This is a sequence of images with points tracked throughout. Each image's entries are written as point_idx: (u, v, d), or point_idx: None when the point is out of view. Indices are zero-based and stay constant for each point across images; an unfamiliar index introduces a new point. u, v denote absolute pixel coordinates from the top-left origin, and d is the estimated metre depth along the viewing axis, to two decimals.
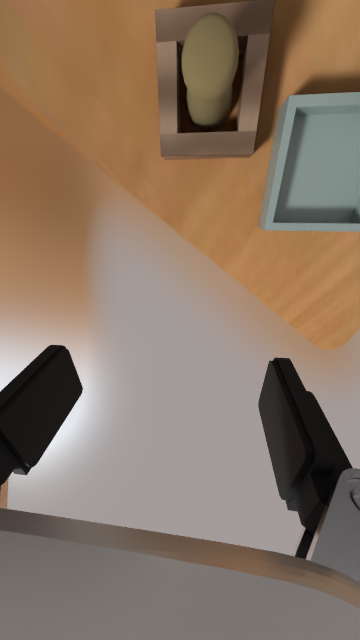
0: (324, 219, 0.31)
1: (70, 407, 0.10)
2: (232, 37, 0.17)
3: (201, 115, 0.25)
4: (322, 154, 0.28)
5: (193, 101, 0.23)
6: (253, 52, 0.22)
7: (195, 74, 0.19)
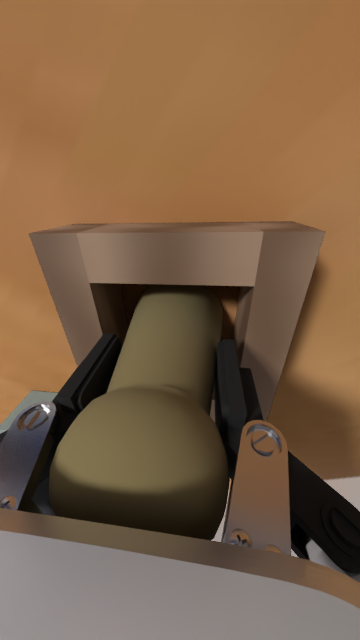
0: None
1: None
2: None
3: None
4: None
5: (126, 349, 0.09)
6: (213, 407, 0.13)
7: (66, 507, 0.05)
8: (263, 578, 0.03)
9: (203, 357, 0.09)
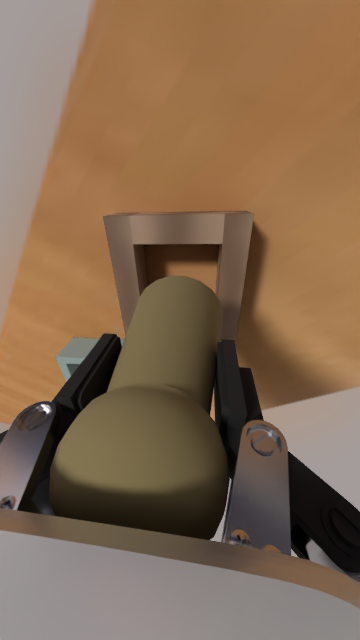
0: None
1: None
2: None
3: None
4: None
5: (126, 348, 0.09)
6: None
7: (67, 506, 0.05)
8: (263, 578, 0.03)
9: (203, 357, 0.09)
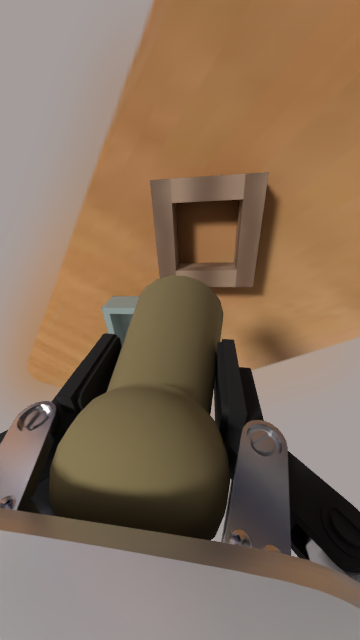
0: None
1: None
2: None
3: None
4: None
5: (126, 348, 0.09)
6: (225, 276, 0.26)
7: (67, 506, 0.05)
8: (263, 578, 0.03)
9: (204, 356, 0.09)
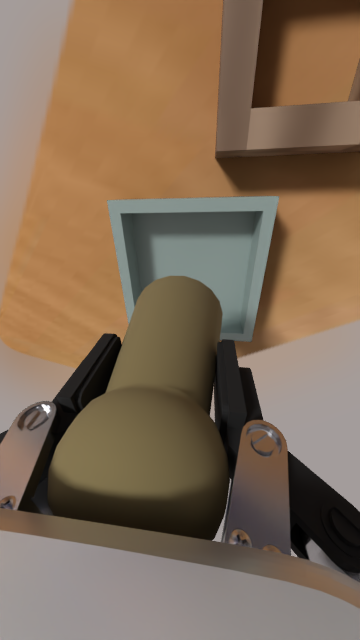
0: (142, 288, 0.25)
1: None
2: None
3: None
4: (210, 266, 0.23)
5: (125, 348, 0.09)
6: (347, 117, 0.14)
7: (65, 508, 0.05)
8: (263, 578, 0.03)
9: (203, 357, 0.09)
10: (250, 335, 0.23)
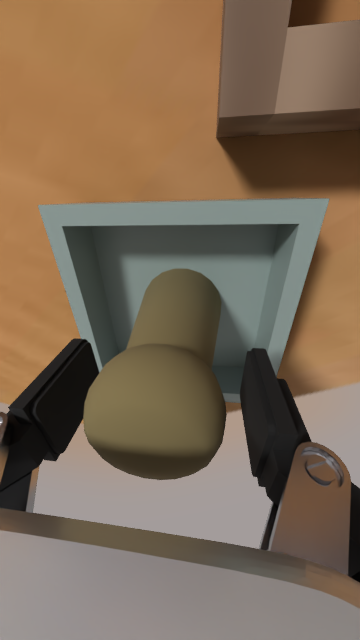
0: (115, 326, 0.18)
1: None
2: None
3: None
4: None
5: (138, 324, 0.10)
6: None
7: (101, 422, 0.06)
8: (263, 578, 0.03)
9: (204, 329, 0.10)
10: None
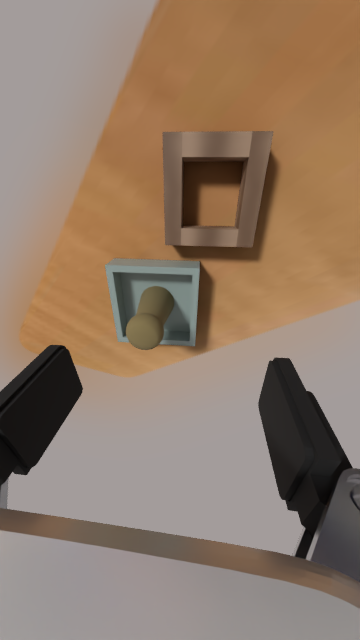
0: (126, 311, 0.38)
1: (70, 407, 0.10)
2: (149, 348, 0.28)
3: None
4: None
5: (139, 308, 0.31)
6: (228, 235, 0.28)
7: (132, 329, 0.27)
8: (263, 578, 0.03)
9: (161, 310, 0.31)
10: (193, 342, 0.37)
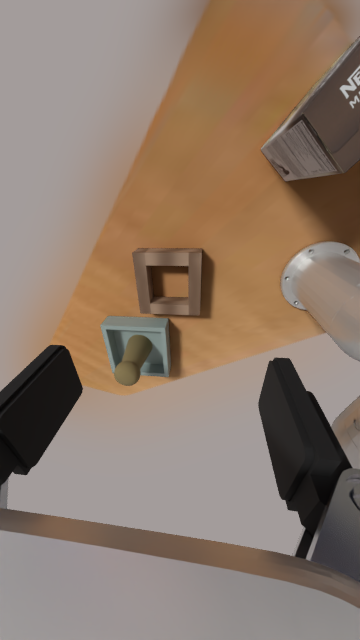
0: (118, 350, 0.51)
1: (70, 407, 0.10)
2: None
3: (124, 352, 0.46)
4: None
5: (124, 354, 0.44)
6: (182, 308, 0.41)
7: (117, 373, 0.40)
8: (263, 578, 0.03)
9: (140, 356, 0.44)
10: (167, 374, 0.50)
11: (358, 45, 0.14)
